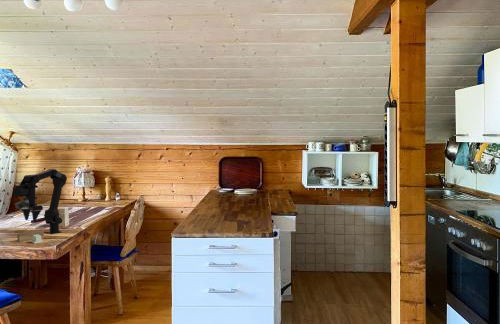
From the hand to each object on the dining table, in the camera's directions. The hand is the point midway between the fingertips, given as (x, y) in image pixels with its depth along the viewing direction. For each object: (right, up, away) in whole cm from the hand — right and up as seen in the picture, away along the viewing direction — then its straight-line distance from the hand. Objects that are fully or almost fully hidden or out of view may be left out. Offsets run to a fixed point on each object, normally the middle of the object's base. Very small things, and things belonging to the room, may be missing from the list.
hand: (30, 220), depth 249 cm
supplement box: (+1, -10, +39) cm, 40 cm away
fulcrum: (+6, -12, -4) cm, 14 cm away
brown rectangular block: (-1, -12, +3) cm, 12 cm away
